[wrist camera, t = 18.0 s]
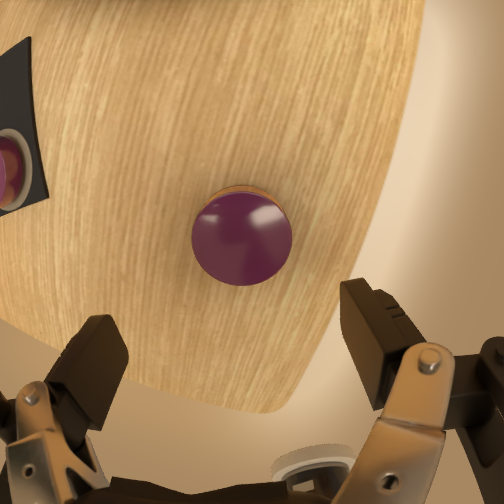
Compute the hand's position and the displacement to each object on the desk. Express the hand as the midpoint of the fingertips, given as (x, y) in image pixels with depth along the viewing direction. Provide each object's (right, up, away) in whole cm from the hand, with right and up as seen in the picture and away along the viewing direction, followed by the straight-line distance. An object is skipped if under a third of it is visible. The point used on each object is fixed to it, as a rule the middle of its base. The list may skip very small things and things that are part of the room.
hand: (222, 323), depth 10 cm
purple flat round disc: (-19, +9, +7) cm, 22 cm away
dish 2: (0, +4, +10) cm, 11 cm away
